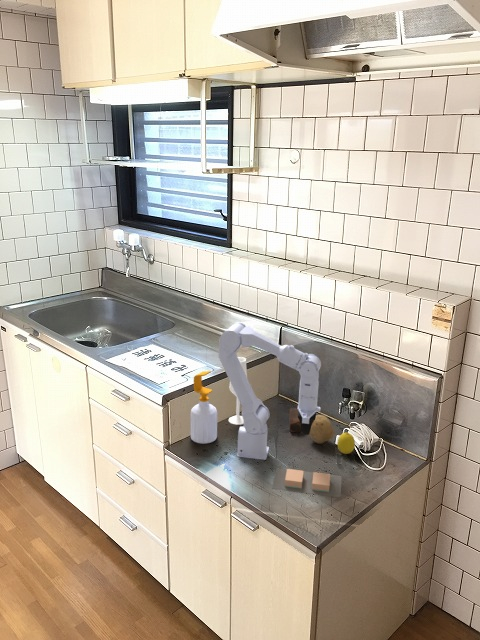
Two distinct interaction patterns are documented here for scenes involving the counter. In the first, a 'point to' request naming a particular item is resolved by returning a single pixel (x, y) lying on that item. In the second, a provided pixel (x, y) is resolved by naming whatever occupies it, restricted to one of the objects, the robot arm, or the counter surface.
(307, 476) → the mat
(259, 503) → the counter surface
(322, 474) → the tile right
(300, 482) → the tile left
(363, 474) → the counter surface
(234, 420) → the champagne flute
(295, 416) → the brick
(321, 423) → the brown round lump
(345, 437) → the lemon
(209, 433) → the soap bottle
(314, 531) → the counter surface
